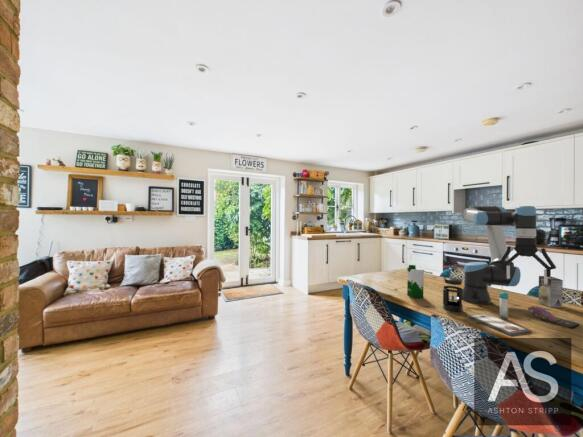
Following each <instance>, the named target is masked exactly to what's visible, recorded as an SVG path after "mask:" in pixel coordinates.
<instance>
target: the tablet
mask: <svg viewBox="0 0 583 437" xmlns="http://www.w3.org/2000/svg"><path fill="white" fill-rule="evenodd" d="M466 318H468V319H470V320H472V321H475V322H477V323H479V324H481V325H484V326H486V327H489V328H491V329H493V330H496V331H498V332H501V333H502V334H505V335H508V336H516V335H517V336H518V335H524V334H525V335H526V334H531V333H532V330H530V329H528V328H525V327H522V326H520V325H517V324H515V323H511V322H508V321H507V320H504V319H501V318H500V317H495V316H493V315H491V314H487V313H481V314H479V313H478V314H471V315H467V316H466Z"/></svg>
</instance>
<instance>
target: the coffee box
mask: <svg viewBox="0 0 583 437" xmlns="http://www.w3.org/2000/svg"><path fill="white" fill-rule="evenodd" d="M547 278H548V283H547V284H544V275H538V302H539V303H540V304H542V305H545V306H548V307H550V308H561V307H562V308H563V286H564V284H563V282H564V281H563V279H561V278H558V277H555V276H552V275H551V276H550V277H547Z"/></svg>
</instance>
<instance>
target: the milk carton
mask: <svg viewBox="0 0 583 437" xmlns="http://www.w3.org/2000/svg"><path fill="white" fill-rule="evenodd" d="M406 272H407V279H406V280H407V282H406V284H407V295H408V296H409V297H411V298H414V299H419V298H420V299H424V278H425V276H424V275H425V274H424V273H425V269H423V268H421V267H417V266H416V264H409V265H408V267H406Z"/></svg>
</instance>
